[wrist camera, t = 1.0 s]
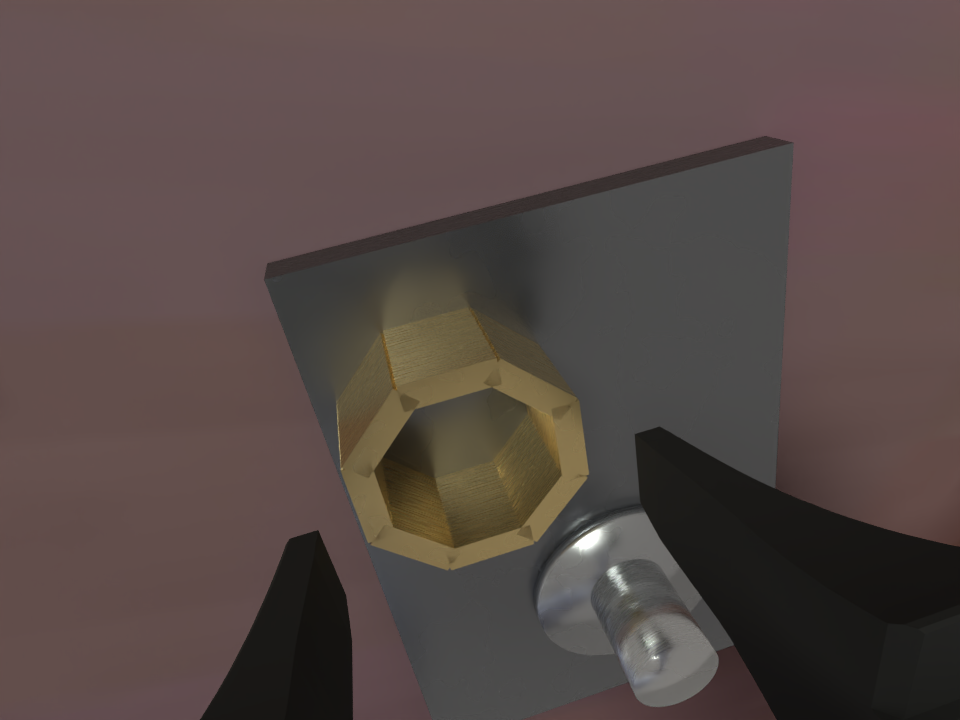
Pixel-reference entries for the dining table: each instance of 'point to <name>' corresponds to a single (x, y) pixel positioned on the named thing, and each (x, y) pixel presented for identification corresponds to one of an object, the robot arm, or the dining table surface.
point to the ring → (476, 490)
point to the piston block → (603, 403)
